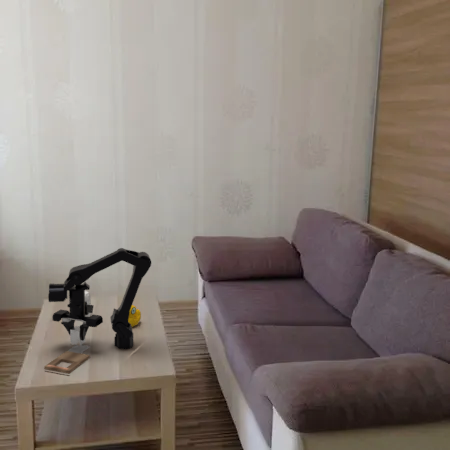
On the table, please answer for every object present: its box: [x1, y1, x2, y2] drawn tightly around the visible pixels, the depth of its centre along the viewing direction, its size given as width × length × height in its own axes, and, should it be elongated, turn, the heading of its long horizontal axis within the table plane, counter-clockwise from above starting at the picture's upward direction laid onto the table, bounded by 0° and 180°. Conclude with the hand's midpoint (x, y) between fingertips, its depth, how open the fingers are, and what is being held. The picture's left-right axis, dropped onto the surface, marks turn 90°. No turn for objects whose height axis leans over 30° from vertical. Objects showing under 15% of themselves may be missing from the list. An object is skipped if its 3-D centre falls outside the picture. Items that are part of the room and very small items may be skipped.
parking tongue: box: [67, 344, 92, 354], centre depth 221 cm, size 6×8×1 cm
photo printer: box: [85, 290, 92, 317], centre depth 257 cm, size 10×4×12 cm, turn 60°
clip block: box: [69, 325, 86, 346], centre depth 219 cm, size 4×4×6 cm
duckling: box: [128, 304, 142, 328], centre depth 246 cm, size 11×5×10 cm, turn 151°
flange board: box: [43, 350, 91, 377], centre depth 208 cm, size 10×14×2 cm
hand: (78, 339), depth 220 cm, fingers closed on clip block, 4 cm apart
